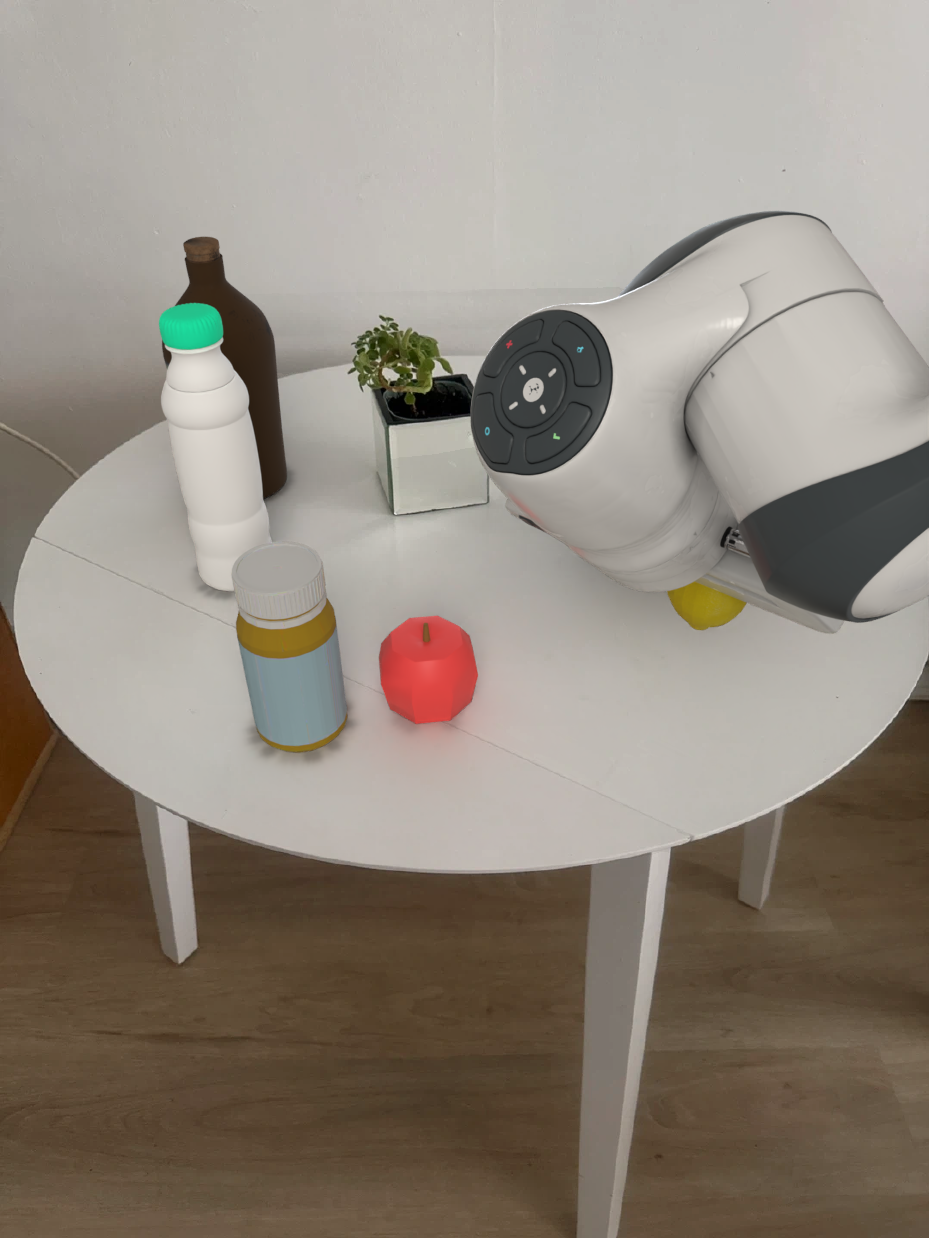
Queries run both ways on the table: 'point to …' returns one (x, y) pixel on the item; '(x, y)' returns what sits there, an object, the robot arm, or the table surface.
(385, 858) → the table surface
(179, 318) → the water bottle
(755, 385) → the robot arm
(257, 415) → the olive oil
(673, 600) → the fruit
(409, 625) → the apple
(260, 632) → the bottle
